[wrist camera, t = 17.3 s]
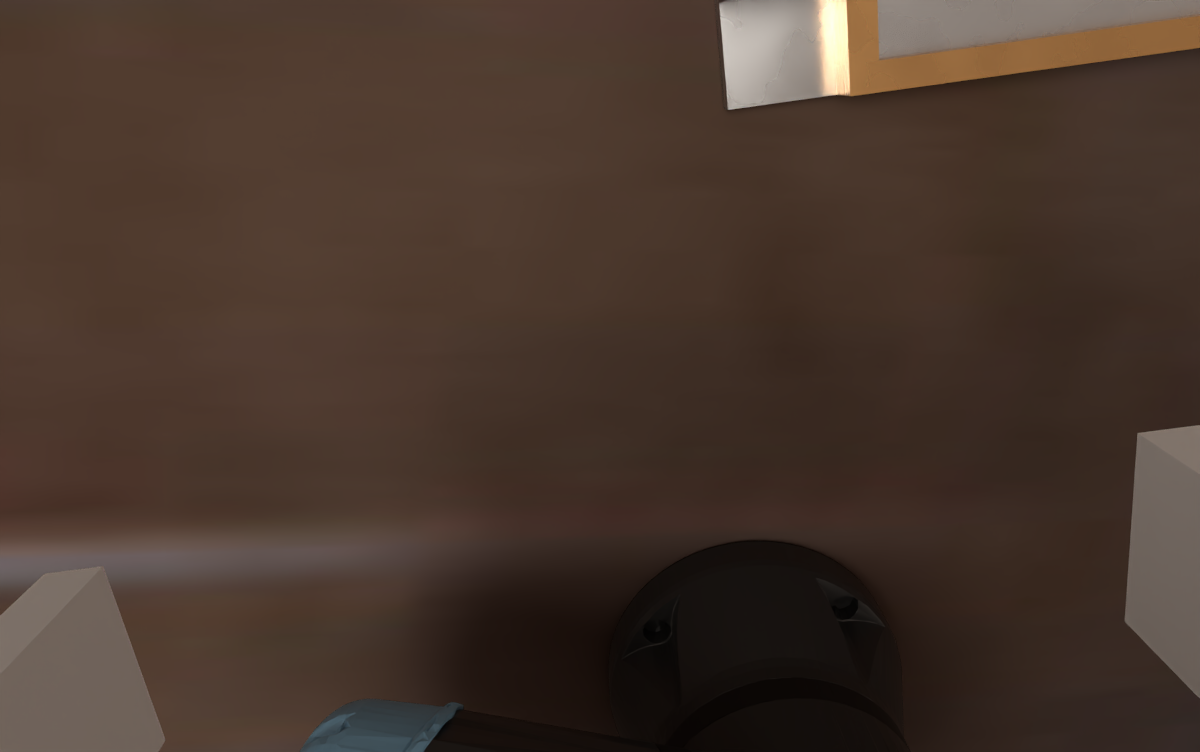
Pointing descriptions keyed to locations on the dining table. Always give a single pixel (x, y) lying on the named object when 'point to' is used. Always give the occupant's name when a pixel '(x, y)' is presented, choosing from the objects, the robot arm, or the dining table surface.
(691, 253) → the dining table surface
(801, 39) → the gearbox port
